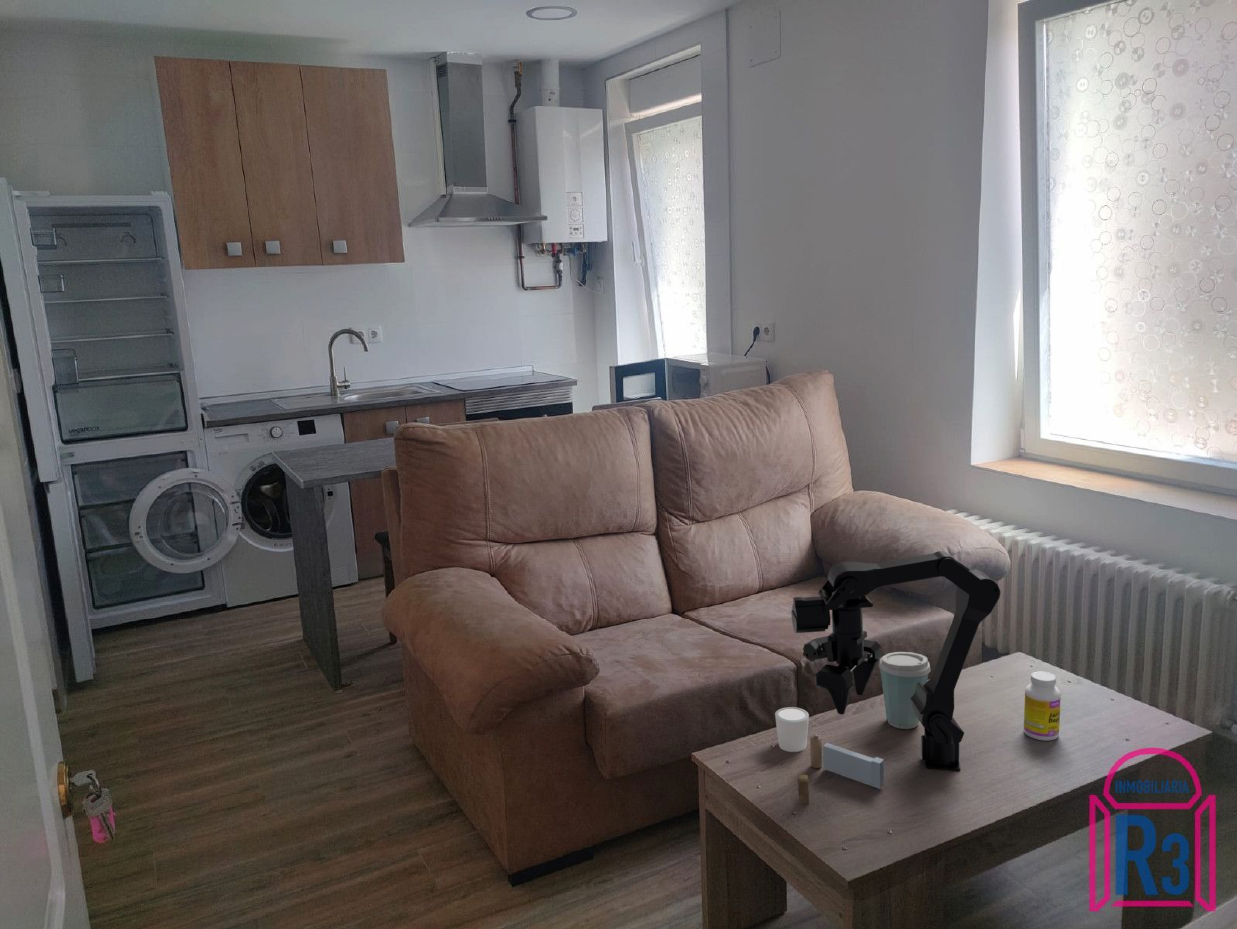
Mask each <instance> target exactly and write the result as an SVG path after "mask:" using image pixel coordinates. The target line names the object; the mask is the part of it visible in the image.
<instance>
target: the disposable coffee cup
mask: <svg viewBox="0 0 1237 929" xmlns="http://www.w3.org/2000/svg"><path fill="white" fill-rule="evenodd" d="M878 668H879V670H880V678H881V684H882V694H883V702H884V709H885V717H886V720H887V722H888V724H889V725H890V726H891V727H894V728H896V729H903V730H910V729H914V728H916V727H917V726H918V725H919V723H920V721H919V719H918V718H917V716H916V714H915V713H914V711H913V708H912V703H913V702H912V701H911V699H910V698H911V697H912V696H913V695H914V693H915V689H916V685H917V682H920V683H922V684H925V683H926V682H927V681H928V678H929V673H930V672H931V666H930V661H928V657H927V656H925V655H924V654H921V653H916V652H911V651H910V652H909V651H908V652H907V651H895V652H889V653H886V654H885V655H883V656H882V657H881V658H880V657H879V661H878Z"/></svg>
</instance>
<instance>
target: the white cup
mask: <svg viewBox="0 0 1237 929" xmlns="http://www.w3.org/2000/svg"><path fill="white" fill-rule="evenodd" d="M774 716H775V717H774V718H775V725H776V733H777V741H778V746H779V748H780V749H781V750H783V751H785V752H789V753H790V752H791V753H798V752H803V751H804V750H805V749H806V747H807V745H808V743H807V742H808V732H809V731H808V730H809V721H810V720H809V719H810V714H809V712H808V711H807V710H805V709H804V708H800V707H794V706H791V707H789V706H788V707H782V708H779V709H778V710H776V711H775V713H774Z"/></svg>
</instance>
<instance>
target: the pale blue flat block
mask: <svg viewBox="0 0 1237 929" xmlns="http://www.w3.org/2000/svg"><path fill="white" fill-rule="evenodd" d="M822 740H823V739H822V736H820V735H819V734H817V733H814V734H813V735H811V736H810V738H809V742H810V745H809V746H810V749H809V750H810V752H809V753H810V766H811V767H812V768H814V769H820V768H821V767H822V768H823V769H824V770H827V771H828V772H829V771H830V772H833V773H834V774H835V773H836V774H837V775H841V776H844V777H847V778H849V779H851V780H855V781H858V782H861V783H863V784H865V785H866V784H867V785H869V786H871V787H872V788H873V787H874V788H876V789H881V788H882V787H883V786H884V785H885V759H884V758H881V757H878V756H875V757H874V758H873V757H871V756H868V755H865V754H861V753H859V752H856V751H852V750H849V749H846V748H844V747H840V746H838V745H835V744H831V743H829V742H826V743H825V744H823V743H822V742H823V741H822Z"/></svg>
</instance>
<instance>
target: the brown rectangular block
mask: <svg viewBox="0 0 1237 929" xmlns="http://www.w3.org/2000/svg"><path fill="white" fill-rule="evenodd" d="M809 781H810V780H809V777H808V774H799V777H798V784H797V785H798V805H810V789H809V788H810V784H809V783H810V782H809Z"/></svg>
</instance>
